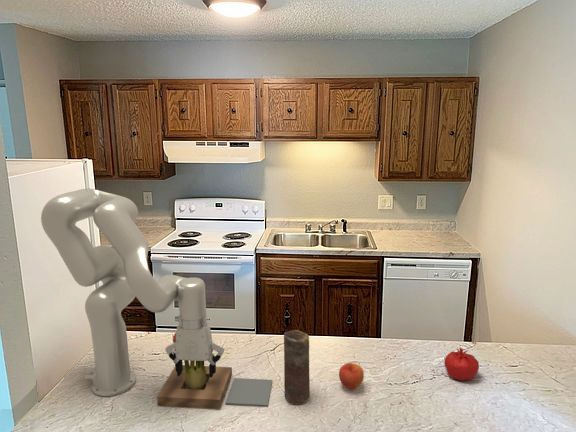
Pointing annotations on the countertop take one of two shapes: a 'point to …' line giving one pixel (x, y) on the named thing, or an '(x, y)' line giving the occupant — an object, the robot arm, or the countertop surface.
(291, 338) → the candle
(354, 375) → the apple
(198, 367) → the fennel bulb
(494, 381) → the countertop surface
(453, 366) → the pomegranate
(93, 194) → the robot arm
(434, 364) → the countertop surface
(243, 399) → the mat
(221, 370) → the pocket holder
